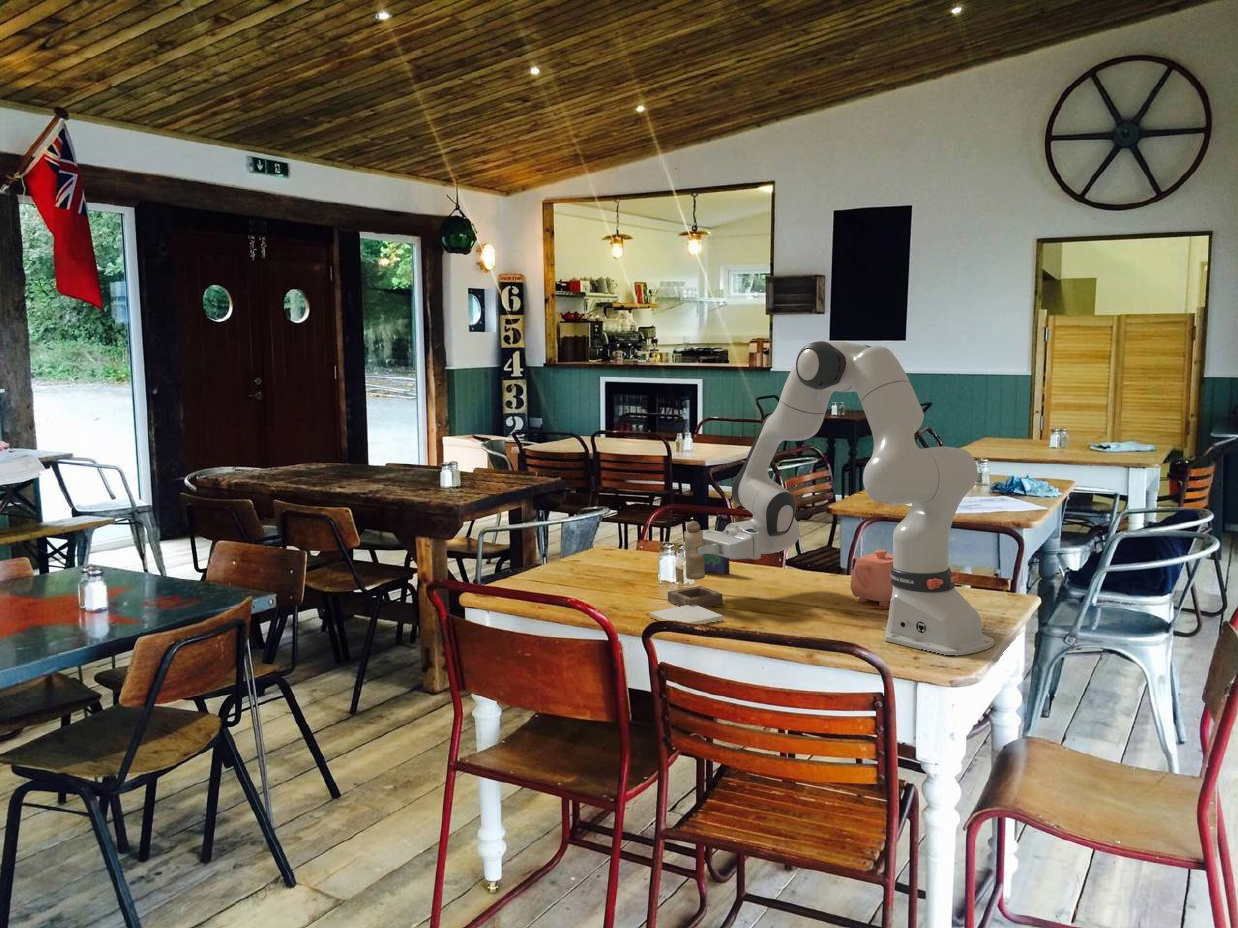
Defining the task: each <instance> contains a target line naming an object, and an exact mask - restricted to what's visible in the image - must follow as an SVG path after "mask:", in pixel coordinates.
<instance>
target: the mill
mask: <svg viewBox="0 0 1238 928" xmlns="http://www.w3.org/2000/svg"><path fill="white" fill-rule="evenodd" d="M683 535H684V536H683V537H684V542H685V550H684V553H685V556H684V557H685V559H684V560H685V577H686V579H688V580H703V579H705V578H706V576H705V574H706V573H705V570H704V554H698V553H697V552H696V547H697V546H700V545H703V531H702V530H701V525H700V523H699V522H698V521H695V520H691V521H689V522H687V525H686V530H685V531H684V533H683Z"/></svg>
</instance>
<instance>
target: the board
mask: <svg viewBox="0 0 1238 928" xmlns="http://www.w3.org/2000/svg"><path fill="white" fill-rule="evenodd" d="M648 613H649V615H651V616H654V617H656V618H660V619H667V620H677V621H682V622H688V623H696V624H704V623H699V622H712V621H719V620H723V621H724V615H723V614H720V613H717V612H715V611H712V610H711V609H707V608H703V607H700V606H698V605H690V606H689V605H685V606H680V607H679V606H676V607H671V608H665V609H660V610H656V611H649V612H648Z"/></svg>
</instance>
